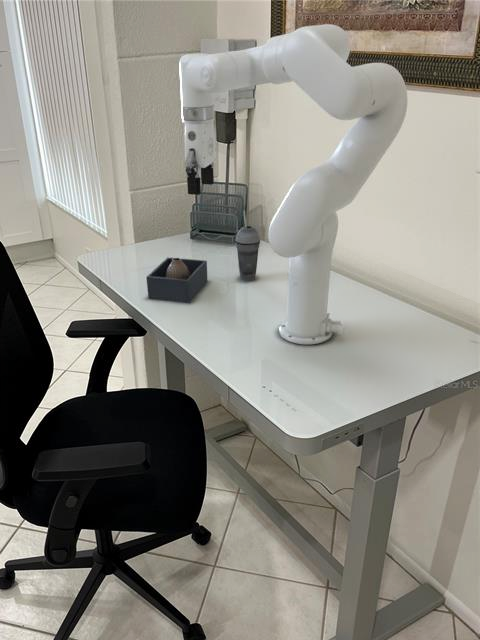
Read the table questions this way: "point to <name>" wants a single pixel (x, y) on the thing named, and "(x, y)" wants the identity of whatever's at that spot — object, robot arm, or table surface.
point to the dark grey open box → (177, 282)
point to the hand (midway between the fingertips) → (201, 189)
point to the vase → (177, 270)
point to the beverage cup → (247, 251)
